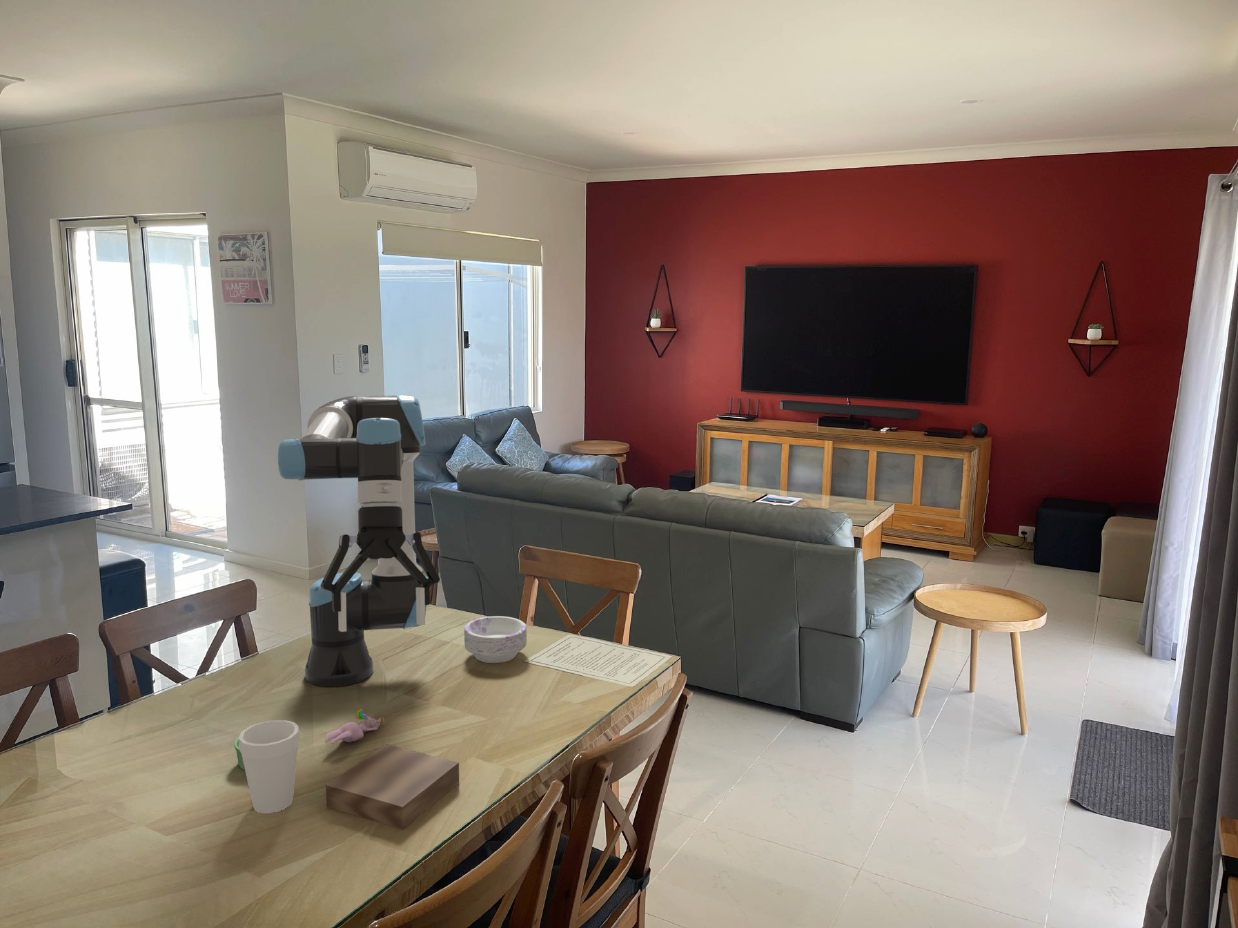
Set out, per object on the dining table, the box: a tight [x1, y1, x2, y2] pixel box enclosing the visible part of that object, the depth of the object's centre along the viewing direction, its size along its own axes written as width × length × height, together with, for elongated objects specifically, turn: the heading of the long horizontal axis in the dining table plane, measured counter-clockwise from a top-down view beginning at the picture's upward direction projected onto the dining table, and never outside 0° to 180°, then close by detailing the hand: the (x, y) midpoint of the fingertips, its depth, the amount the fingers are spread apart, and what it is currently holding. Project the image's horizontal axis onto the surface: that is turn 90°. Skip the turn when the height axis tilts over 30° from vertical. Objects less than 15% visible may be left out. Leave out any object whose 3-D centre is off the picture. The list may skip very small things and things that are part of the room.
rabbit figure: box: [324, 708, 385, 745], centre depth 174 cm, size 6×6×15 cm
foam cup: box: [238, 719, 300, 814], centre depth 150 cm, size 10×9×13 cm
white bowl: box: [463, 615, 528, 664], centre depth 216 cm, size 15×15×8 cm
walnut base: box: [325, 744, 460, 830], centre depth 154 cm, size 16×16×4 cm
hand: (382, 627), depth 153 cm, fingers open, 13 cm apart
